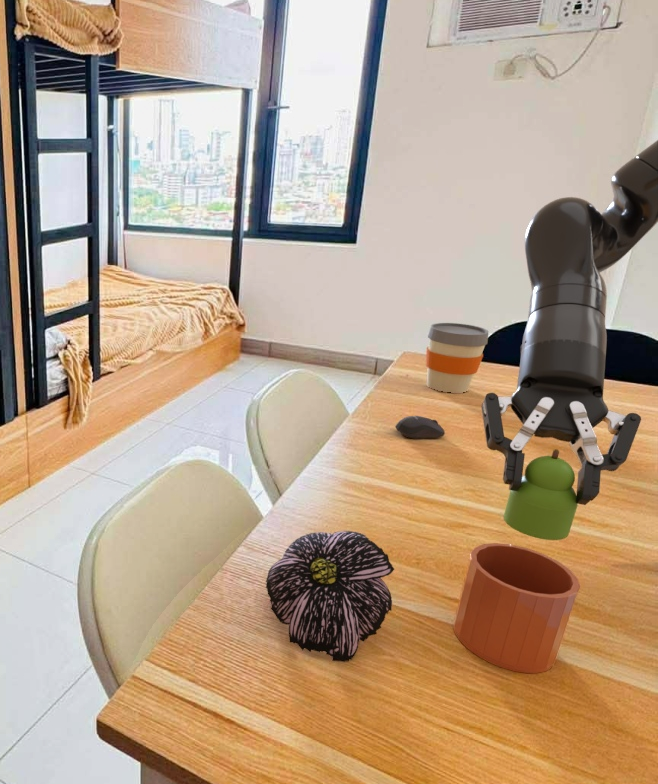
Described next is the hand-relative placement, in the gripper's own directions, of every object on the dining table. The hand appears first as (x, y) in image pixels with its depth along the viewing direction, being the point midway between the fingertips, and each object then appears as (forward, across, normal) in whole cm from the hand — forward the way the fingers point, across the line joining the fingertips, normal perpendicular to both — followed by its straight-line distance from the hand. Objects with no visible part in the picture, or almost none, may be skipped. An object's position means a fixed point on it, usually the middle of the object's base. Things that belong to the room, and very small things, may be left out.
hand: (548, 494), depth 65 cm
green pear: (+2, 0, +5) cm, 5 cm away
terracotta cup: (+13, 0, +16) cm, 20 cm away
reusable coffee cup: (-56, -6, +85) cm, 102 cm away
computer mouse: (-31, -11, +60) cm, 68 cm away
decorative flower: (+18, -19, +11) cm, 28 cm away
